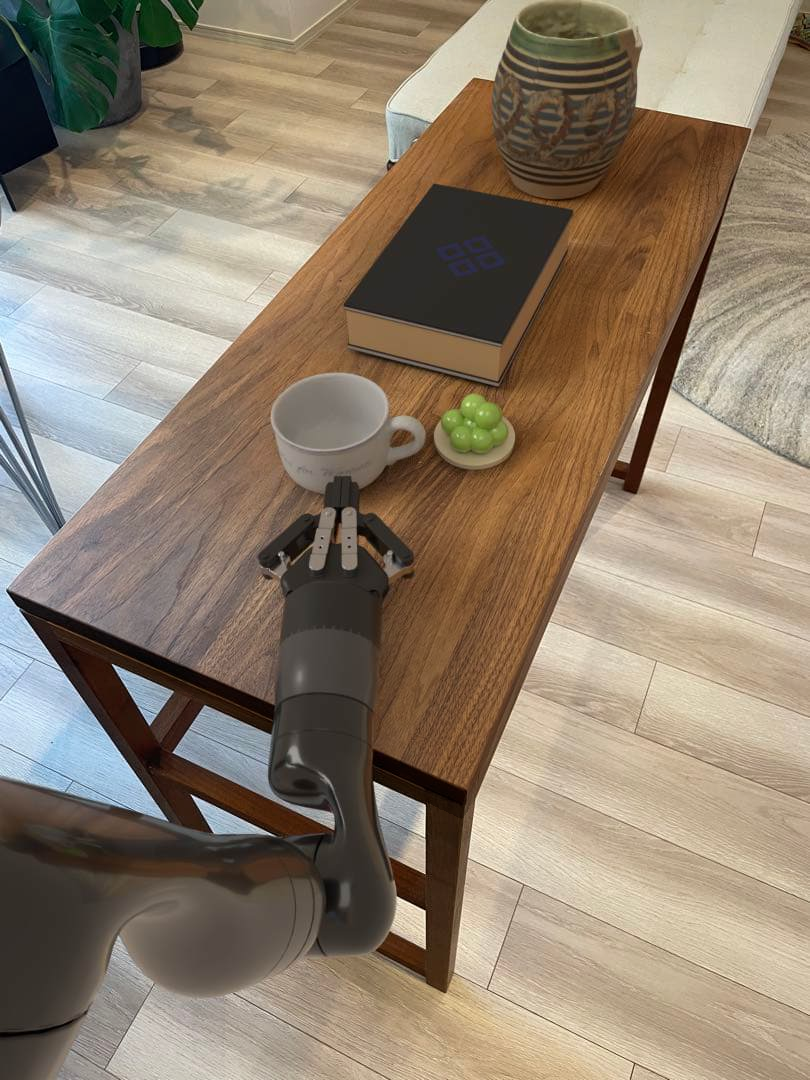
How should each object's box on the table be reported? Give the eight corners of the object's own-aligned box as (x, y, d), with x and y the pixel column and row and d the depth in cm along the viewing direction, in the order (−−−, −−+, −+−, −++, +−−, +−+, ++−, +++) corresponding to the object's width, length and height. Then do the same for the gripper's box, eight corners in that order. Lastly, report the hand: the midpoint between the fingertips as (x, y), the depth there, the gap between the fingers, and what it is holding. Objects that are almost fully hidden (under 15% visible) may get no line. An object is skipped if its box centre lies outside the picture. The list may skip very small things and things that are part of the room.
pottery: (466, 194, 110) (470, 29, 94) (520, 134, 119) (533, -26, 103) (592, 227, 104) (619, 56, 88) (640, 161, 113) (672, -4, 97)
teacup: (263, 492, 79) (248, 432, 73) (313, 417, 85) (303, 356, 79) (398, 533, 75) (394, 474, 69) (441, 452, 81) (440, 390, 75)
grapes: (446, 477, 79) (446, 437, 75) (424, 420, 84) (423, 380, 80) (525, 460, 80) (530, 420, 76) (500, 405, 85) (503, 364, 81)
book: (348, 354, 91) (342, 303, 86) (433, 232, 105) (433, 182, 99) (498, 393, 86) (501, 342, 81) (567, 260, 100) (574, 209, 95)
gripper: (418, 631, 58) (419, 450, 68) (229, 632, 58) (259, 453, 69) (420, 682, 64) (421, 509, 74) (249, 683, 64) (274, 510, 75)
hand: (343, 482), depth 72 cm, fingers closed
